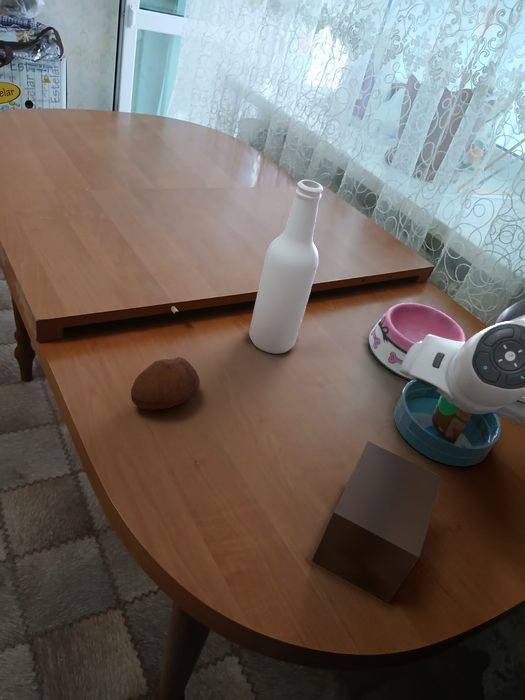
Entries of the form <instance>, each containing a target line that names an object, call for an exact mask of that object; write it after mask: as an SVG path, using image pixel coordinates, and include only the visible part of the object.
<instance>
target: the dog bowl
mask: <svg viewBox="0 0 525 700" xmlns="http://www.w3.org/2000/svg"><path fill="white" fill-rule="evenodd" d="M426 335H434V336H438V337H442V338H446V339H450V340H454V341H458V342H467V337H466V334H465V332H464V329H462V327H461V326H460V325H459V323H457V321H456V320H454V319H453V318H451V317H450V316H449V315H447V314H446V313H444V312H443V311H440V310H439V309H437V308H434V307H432V306H429V305H425V304H421V303H415V302H402V303H398V304H395V305H392V306H391V307H390V308H389V309H388V310H387V311H386V312H385V313H384V314H382V316H381V318H380V319H379V321H378V322H377V323H376V324H375V326H374V327H373V328H372V330H371V331H370V332H369V334H368V337H367V345H368V350H369V351H370V353H371V354H372V356H373V357H374V359H375V360H376V361H377V362H378V363H379V364H380V365H381V366H382V367H384V368H385V369H386V370H387V371H389V372H390V373H392V374H393V375H394V376H397V377H400V378H401V379H403V380H406V381H409V382H410V381H412V380H414V379H412V378H411V377H409V376H406V375H404V374H402V373H401V372H400V371H399V370H400V367H401V365H402V363H403V360H404V358H405V356H406V354H407V352H408V350H409V349H410V348H411V346H413V345H414V344H415V343H417V342H422V341H423V340H424V338H425V337H426Z"/></svg>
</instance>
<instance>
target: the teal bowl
mask: <svg viewBox="0 0 525 700" xmlns="http://www.w3.org/2000/svg"><path fill="white" fill-rule="evenodd" d="M440 396H441V394H440V393H438V392H437V391H435V390H433V389H431V388H429V387H428V386H426V385H424V384H422V383H420V382H418V381H416V380H415V379H414V380H412V381H409V382H408V383H407V384H405V385H404V388H403V389H402V392H401V393H400V396H399V398H398V400H397V402H396V404H395V407H394V410H393V420H394V423H395V426H396V428H397V430H398V432H399V433H400V435H401V436H402V438H403V439H404V440H405V441H406V442H407V443H408V444H409V445H410V446H411V447H412V448H413V449H414V450H416V451H417V452H419V453H420V454H422V455H423V456H425V457H427V458H428V459H430V460H432V461H435V462H437V463H441V464H444V465H447V466H453V467H469V466H475V465H477V464H479V463H481V462H483V461H484V460H485V459H486V458H487V456H488V455H489V453H490V452H491V450H492V449H493V448H494V446H495V444H496V443H497V442H498V440H499V438H500V436H501V431H502V428H501V427H502V426H501V421H500V418H499V416H498V415H496V414H494V413H491V412H490V413H487V414H472V416H471V418H470V419H469V421H468V423H467V424H466V426H465V428H464V429H463V431H462V433H461V434H460V436H459V438H458V439H457V441H456V442H455V444H454V443H451V442H448V441H447V440H445V439H444V438H443V437H442V436H441V435H440V434H439V433H438V432H437V431H436V429H435V428H434V426H433V423H432V415H433V413H434V410H435V408H436V406H437V403H438V401H439V399H440Z"/></svg>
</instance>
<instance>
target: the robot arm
mask: <svg viewBox="0 0 525 700" xmlns="http://www.w3.org/2000/svg"><path fill="white" fill-rule="evenodd" d="M399 371H400V372H401V373H402V374H404V375H406V376H409V377H411V378H412V379H415V380H416V381H418V382H420V383H422V384H424V385H426V386H428V387H429V388H431V389H433V390H435V391H437V392H438V393H440V394H441V395H442V396H443V397H445V398H446V399H448V400H449V401H451V402H452V403H453V404H454V405H455V406H457V407H458V408H460V409H461V410H463V411H465V412H468V413H472V414H487V413H490V412H491V413H494V414H496V415H497V417H501V418H503V419H505V420H508V421H509V422H512V423H514V424H516V425H519V426H521V427H523V428H525V298H523V299H521V300H518V301H517V302H516V303H514V304H512V305H510V306H509V307H508V308H506V309H504V311H502V312H501V313H500V315H499V316H498V317H497V319H496V321H495V323H494V324H493V325H491V326H488V327H486V328H483V329H482V330H480V331H479V332H477V333H475V334H473V335H472V336H471V337H470V338H469V339H468V340H466V342H458V341H454V340H450V339H446V338H442V337H438V336H434V335H426V337H425V338H424V340H423V341H422V342H417V343H415V344H414V345H413V346H411V348H410V349H409V350H408V352H407V354H406V356H405V358H404V360H403V363H402V365H401V367H400V370H399Z"/></svg>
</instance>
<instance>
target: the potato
mask: <svg viewBox="0 0 525 700" xmlns="http://www.w3.org/2000/svg"><path fill="white" fill-rule="evenodd" d="M200 383H201V379H200V377H199V374H198V372H197V370H196V369H195V368H194V367H193V365H192V364H191V363H190V362H189V361H188V360H187V359H185V358H184V357H181V356H177V357H173V358H168V359H167V358H165V359H164V358H163V359H158V360H155V361H154V362H152V363H151V364H150V365H149V366H147V368H145V369H144V370H143V371H142V372H141V373H139V374H138V375H137V376H136V378H135V379H134V382H133V384H132V386H131V389H130V397H131V402H132V403H133V405H135V406H137V407H139V408H140V409H142V410H147V411H152V410H153V411H154V410H155V411H156V410H166V409H170V408H173V407H176V406H178V405H180V404H183V403H184V402H186V401H188V400H190V399H191V398H193V396H195V395H196V394H197V392H198V390H199V388H200Z"/></svg>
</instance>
